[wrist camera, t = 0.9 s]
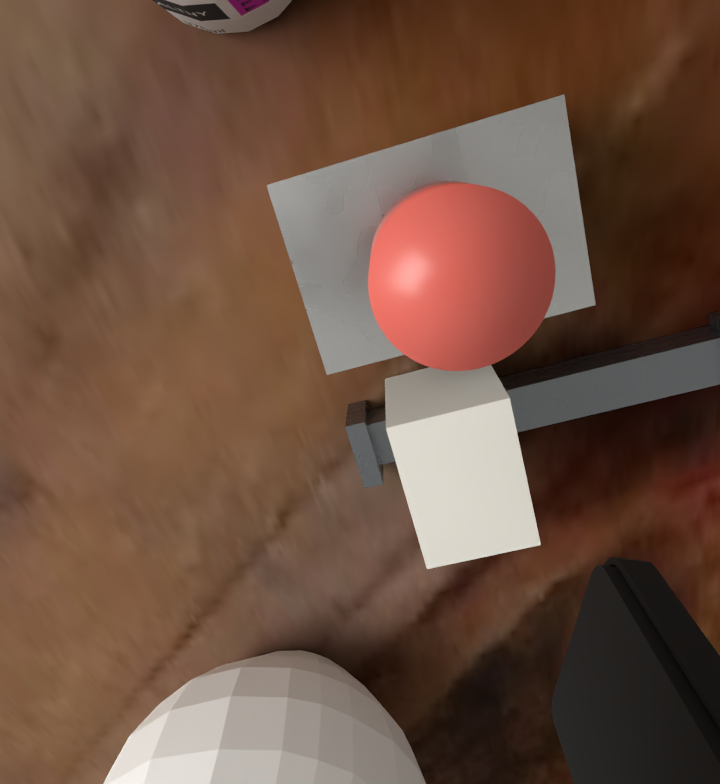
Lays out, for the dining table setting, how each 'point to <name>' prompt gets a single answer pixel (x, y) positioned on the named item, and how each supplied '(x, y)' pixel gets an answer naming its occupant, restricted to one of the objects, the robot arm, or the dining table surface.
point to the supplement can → (225, 13)
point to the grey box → (403, 174)
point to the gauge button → (460, 275)
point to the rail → (572, 389)
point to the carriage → (459, 464)
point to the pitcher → (269, 729)
